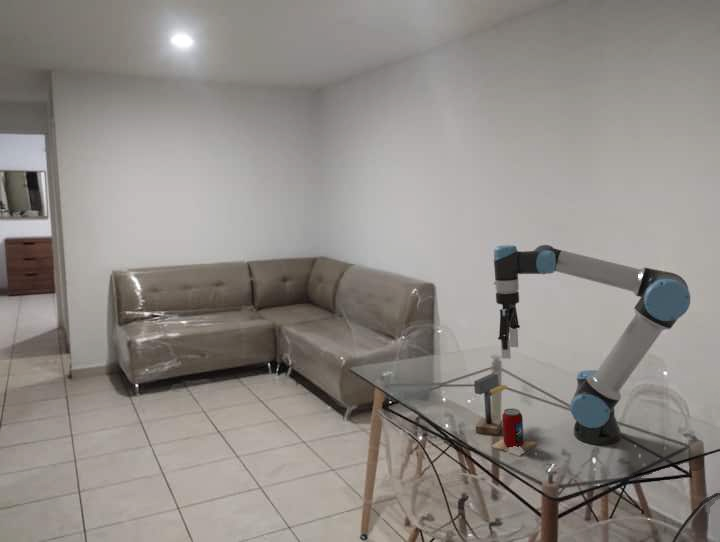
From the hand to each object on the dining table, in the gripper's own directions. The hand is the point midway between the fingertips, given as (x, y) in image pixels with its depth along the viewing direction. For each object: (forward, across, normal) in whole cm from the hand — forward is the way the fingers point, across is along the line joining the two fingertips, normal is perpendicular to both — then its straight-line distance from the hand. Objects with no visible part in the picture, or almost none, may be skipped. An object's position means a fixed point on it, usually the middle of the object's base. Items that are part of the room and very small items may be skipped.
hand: (510, 352), depth 198 cm
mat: (+33, +3, 0) cm, 33 cm away
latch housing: (+33, -9, -11) cm, 36 cm away
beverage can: (+32, +3, 0) cm, 32 cm away
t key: (+30, -11, -10) cm, 33 cm away
